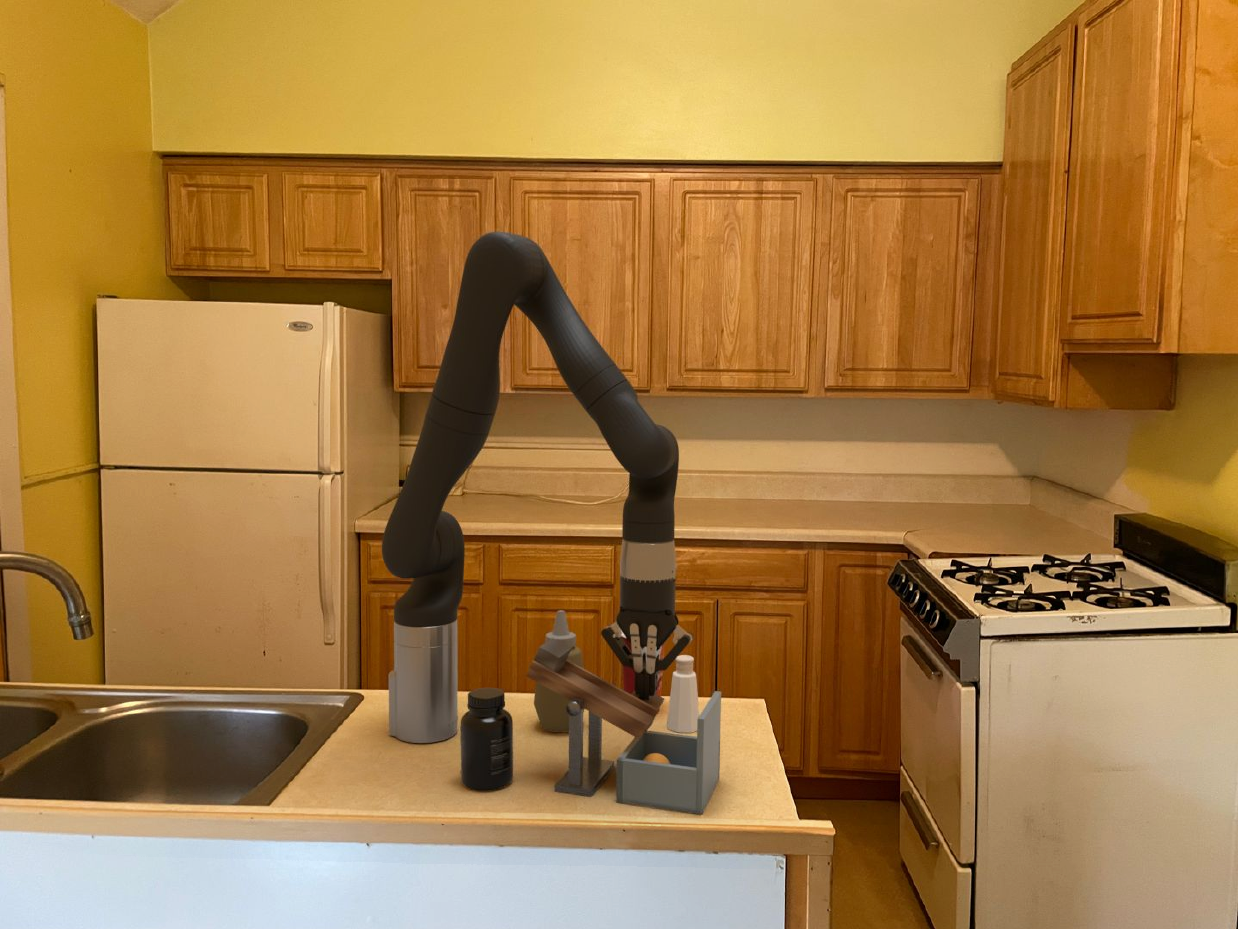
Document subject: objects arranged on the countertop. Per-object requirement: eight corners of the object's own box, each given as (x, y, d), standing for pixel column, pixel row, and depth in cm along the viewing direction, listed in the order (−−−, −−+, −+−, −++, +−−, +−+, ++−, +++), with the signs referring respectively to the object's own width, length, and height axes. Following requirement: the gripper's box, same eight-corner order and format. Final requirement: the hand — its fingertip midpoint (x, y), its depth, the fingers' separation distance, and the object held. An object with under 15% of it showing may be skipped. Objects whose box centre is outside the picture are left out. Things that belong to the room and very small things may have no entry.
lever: (525, 675, 124) (537, 648, 123) (559, 650, 136) (570, 625, 135) (639, 739, 120) (652, 711, 119) (664, 707, 132) (676, 682, 131)
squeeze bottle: (522, 727, 145) (523, 611, 143) (559, 713, 151) (560, 602, 149) (560, 740, 139) (561, 620, 138) (597, 726, 145) (598, 611, 144)
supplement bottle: (511, 769, 128) (511, 683, 127) (514, 791, 122) (515, 700, 121) (460, 772, 127) (460, 685, 126) (460, 794, 121) (460, 702, 120)
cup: (616, 802, 119) (617, 709, 118) (640, 768, 129) (641, 683, 128) (701, 815, 116) (703, 719, 115) (719, 779, 126) (721, 691, 125)
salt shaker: (660, 730, 144) (662, 659, 143) (672, 719, 149) (673, 650, 148) (694, 735, 142) (696, 664, 141) (705, 724, 147) (707, 654, 146)
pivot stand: (553, 792, 122) (554, 700, 121) (580, 761, 131) (581, 676, 130) (590, 797, 120) (591, 704, 119) (614, 766, 130) (616, 680, 129)
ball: (672, 774, 120) (655, 796, 121) (680, 762, 124) (662, 784, 125) (648, 753, 121) (630, 776, 122) (656, 742, 125) (639, 764, 126)
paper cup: (661, 721, 148) (663, 633, 147) (613, 717, 149) (615, 630, 148) (669, 704, 156) (670, 621, 154) (623, 701, 157) (624, 618, 156)
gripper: (592, 574, 126) (591, 701, 127) (689, 581, 122) (687, 712, 123) (609, 564, 133) (608, 685, 134) (701, 570, 129) (699, 694, 131)
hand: (646, 697), depth 129 cm, fingers closed
